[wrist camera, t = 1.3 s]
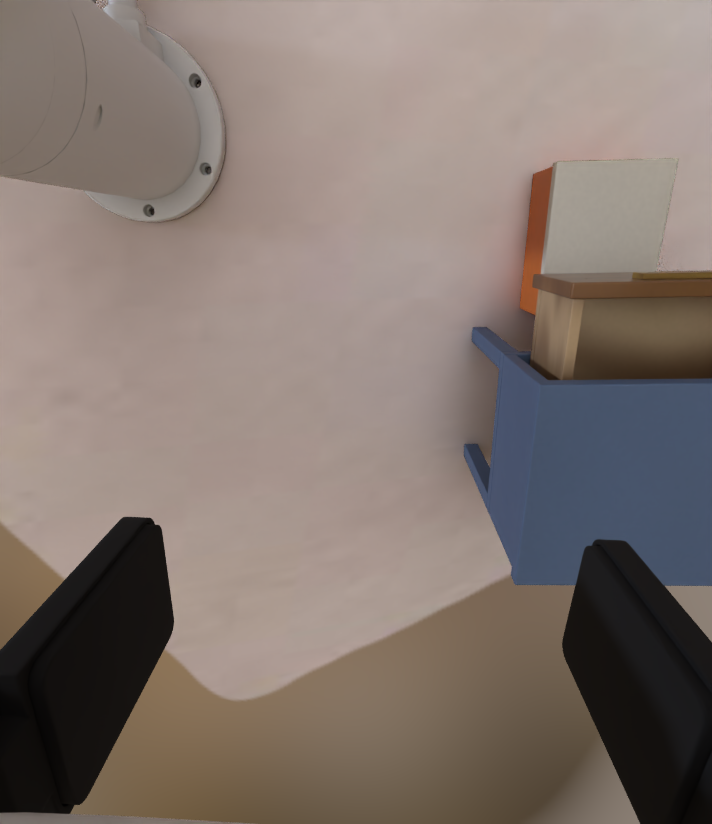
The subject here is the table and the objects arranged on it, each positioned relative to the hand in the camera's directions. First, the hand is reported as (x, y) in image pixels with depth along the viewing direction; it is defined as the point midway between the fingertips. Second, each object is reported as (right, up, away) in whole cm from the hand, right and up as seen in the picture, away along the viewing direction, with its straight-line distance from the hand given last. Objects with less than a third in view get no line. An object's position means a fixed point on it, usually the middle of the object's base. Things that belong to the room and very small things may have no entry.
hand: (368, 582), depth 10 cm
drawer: (+17, +8, +19) cm, 27 cm away
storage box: (+17, +17, +26) cm, 36 cm away
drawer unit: (+17, +5, +31) cm, 36 cm away
